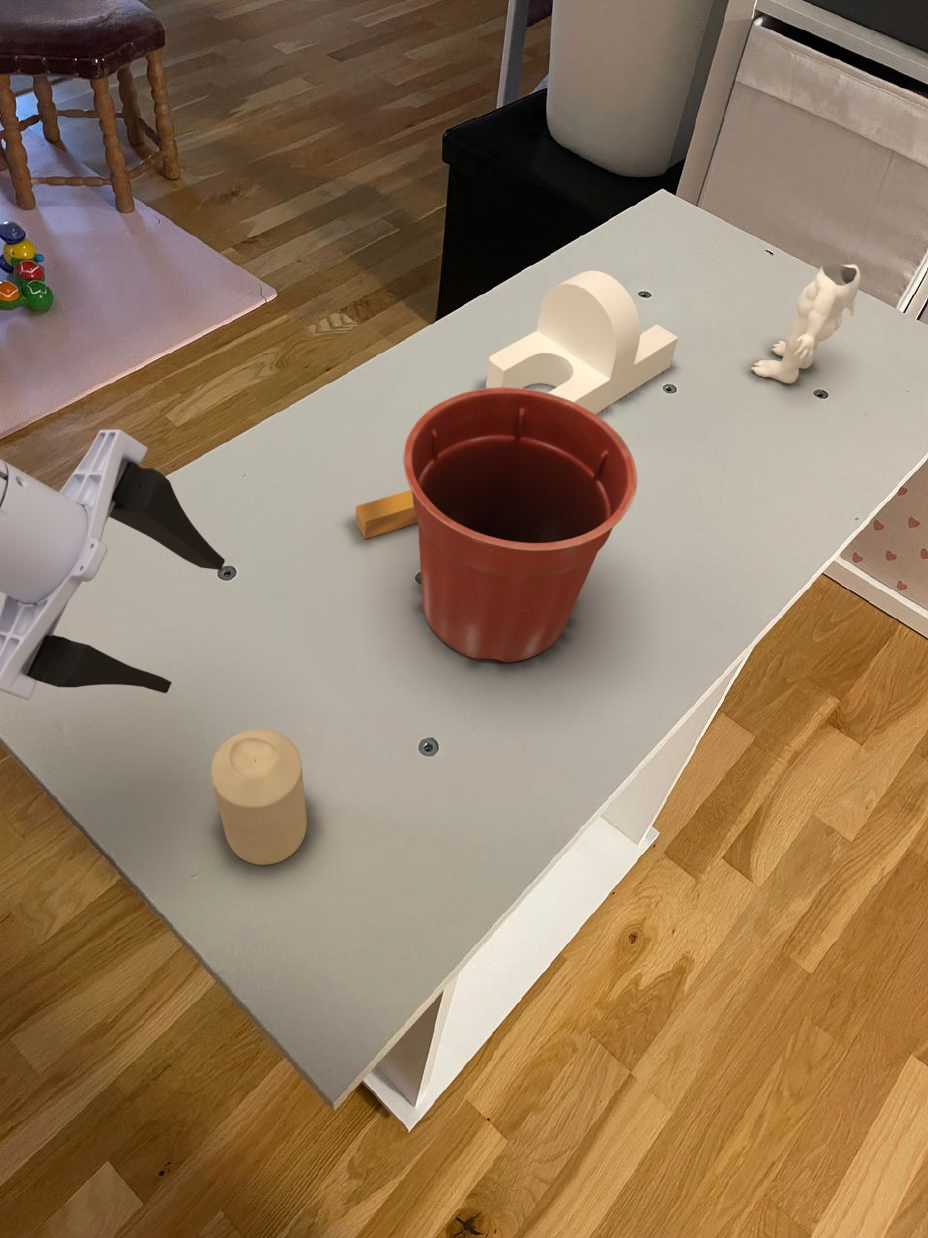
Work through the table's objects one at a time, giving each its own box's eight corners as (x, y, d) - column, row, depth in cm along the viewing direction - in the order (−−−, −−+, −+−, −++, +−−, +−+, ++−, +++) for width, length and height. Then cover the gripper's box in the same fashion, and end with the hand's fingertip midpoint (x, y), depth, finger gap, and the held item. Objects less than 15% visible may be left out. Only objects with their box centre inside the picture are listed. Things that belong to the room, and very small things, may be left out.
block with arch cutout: (599, 322, 107) (620, 228, 99) (669, 367, 104) (697, 273, 95) (482, 388, 99) (494, 292, 90) (554, 440, 95) (573, 344, 86)
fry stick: (365, 539, 85) (365, 521, 83) (355, 523, 86) (355, 506, 84) (506, 495, 90) (509, 477, 88) (496, 480, 91) (498, 463, 89)
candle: (314, 797, 70) (308, 722, 62) (298, 871, 66) (289, 801, 58) (236, 787, 70) (220, 711, 62) (216, 860, 66) (197, 789, 58)
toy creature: (787, 332, 109) (828, 232, 100) (837, 356, 107) (883, 257, 98) (735, 382, 103) (773, 280, 94) (787, 408, 101) (831, 307, 92)
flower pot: (595, 544, 87) (635, 400, 74) (594, 699, 77) (640, 562, 64) (409, 522, 87) (417, 374, 74) (384, 674, 77) (388, 532, 64)
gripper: (-65, 663, 43) (175, 756, 53) (78, 377, 46) (279, 515, 56) (-128, 642, 47) (105, 731, 57) (8, 383, 51) (205, 509, 61)
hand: (186, 623), depth 57 cm, fingers open, 7 cm apart
